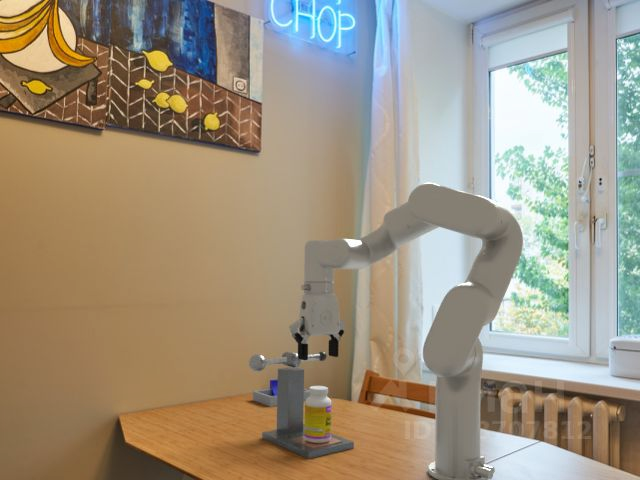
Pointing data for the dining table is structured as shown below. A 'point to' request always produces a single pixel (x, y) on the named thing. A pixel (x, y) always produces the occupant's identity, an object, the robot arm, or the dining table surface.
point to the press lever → (282, 360)
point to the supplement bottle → (318, 415)
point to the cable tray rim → (271, 397)
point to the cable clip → (274, 387)
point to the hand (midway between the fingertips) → (318, 357)
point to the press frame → (298, 419)
